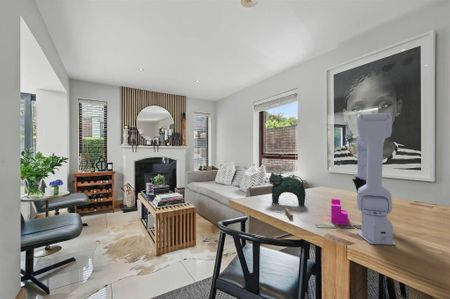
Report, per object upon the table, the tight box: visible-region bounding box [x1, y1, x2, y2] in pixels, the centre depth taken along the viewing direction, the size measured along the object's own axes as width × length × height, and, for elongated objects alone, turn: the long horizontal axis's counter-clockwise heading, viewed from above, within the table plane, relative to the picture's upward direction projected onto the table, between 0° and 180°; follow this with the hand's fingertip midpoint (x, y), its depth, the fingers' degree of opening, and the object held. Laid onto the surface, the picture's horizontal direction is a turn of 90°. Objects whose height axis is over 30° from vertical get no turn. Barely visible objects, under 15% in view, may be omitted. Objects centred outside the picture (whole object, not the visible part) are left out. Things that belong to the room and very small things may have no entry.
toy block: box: [330, 197, 349, 225], centre depth 100 cm, size 15×6×8 cm, turn 154°
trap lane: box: [284, 207, 362, 230], centre depth 98 cm, size 21×29×2 cm
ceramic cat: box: [268, 168, 307, 207], centre depth 126 cm, size 20×6×20 cm, turn 67°
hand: (364, 195), depth 99 cm, fingers open, 7 cm apart
